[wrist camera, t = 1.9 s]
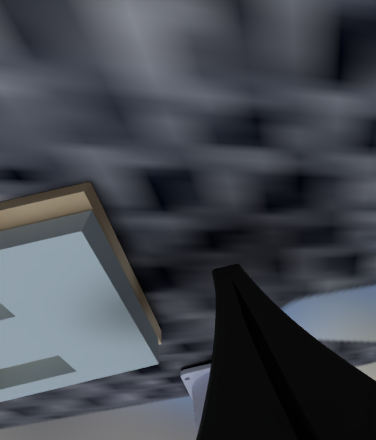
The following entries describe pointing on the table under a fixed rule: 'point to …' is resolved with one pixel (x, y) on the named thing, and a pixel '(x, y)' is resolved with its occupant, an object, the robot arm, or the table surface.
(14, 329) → the panel
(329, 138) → the table surface
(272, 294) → the table surface
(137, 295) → the board
